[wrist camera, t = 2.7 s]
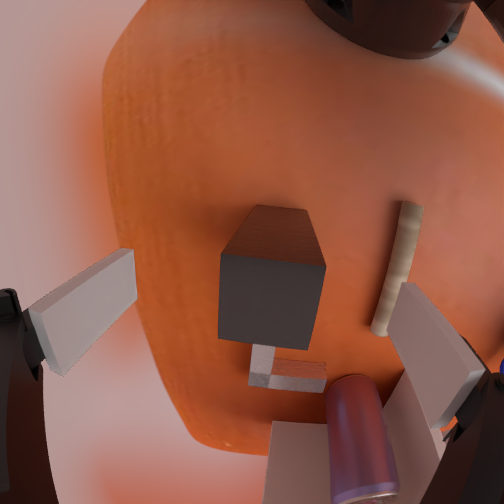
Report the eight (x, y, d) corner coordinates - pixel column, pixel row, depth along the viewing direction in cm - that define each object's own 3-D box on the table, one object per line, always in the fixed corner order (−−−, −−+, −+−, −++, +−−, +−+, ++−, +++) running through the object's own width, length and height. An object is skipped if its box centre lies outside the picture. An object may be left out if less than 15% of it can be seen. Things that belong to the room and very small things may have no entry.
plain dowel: (402, 200, 20) (401, 202, 19) (423, 205, 19) (424, 207, 18) (372, 322, 24) (367, 332, 23) (390, 328, 23) (387, 339, 22)
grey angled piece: (256, 204, 22) (220, 253, 10) (360, 218, 21) (426, 278, 10) (242, 367, 27) (217, 463, 16) (321, 376, 26) (327, 472, 15)
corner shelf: (286, 363, 26) (269, 547, 8) (413, 368, 25) (465, 511, 7) (271, 425, 30) (252, 557, 12) (378, 427, 29) (396, 545, 11)
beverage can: (319, 380, 27) (325, 505, 13) (372, 365, 25) (404, 487, 11) (329, 410, 28) (335, 518, 14) (376, 397, 27) (399, 503, 13)
